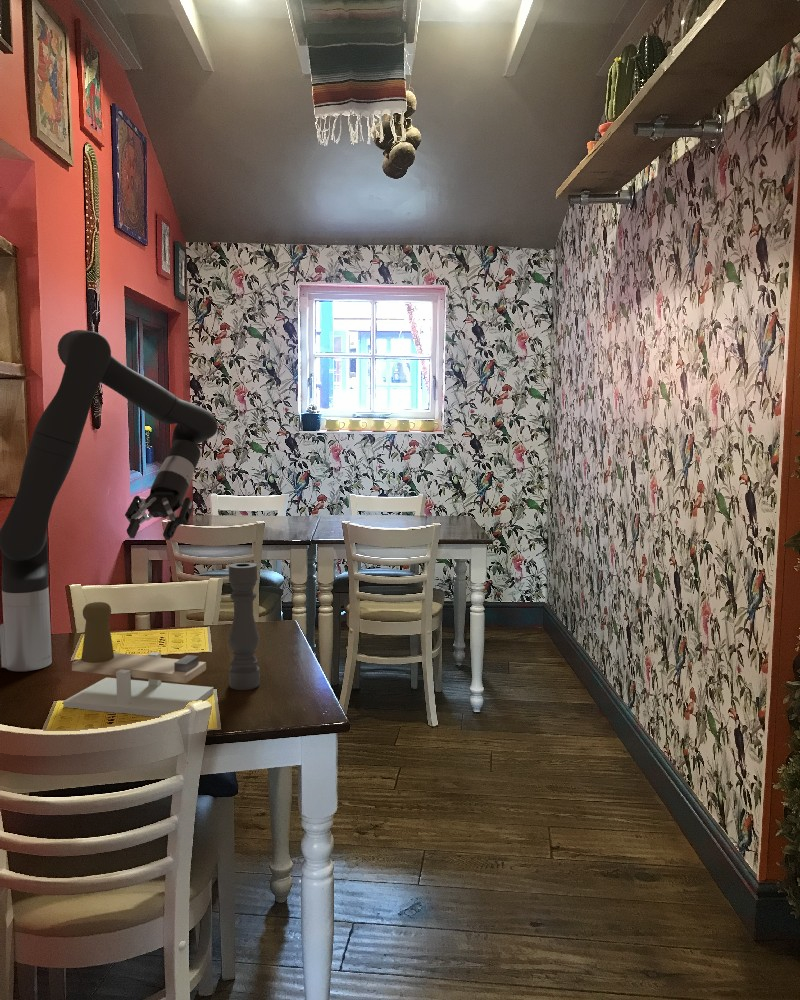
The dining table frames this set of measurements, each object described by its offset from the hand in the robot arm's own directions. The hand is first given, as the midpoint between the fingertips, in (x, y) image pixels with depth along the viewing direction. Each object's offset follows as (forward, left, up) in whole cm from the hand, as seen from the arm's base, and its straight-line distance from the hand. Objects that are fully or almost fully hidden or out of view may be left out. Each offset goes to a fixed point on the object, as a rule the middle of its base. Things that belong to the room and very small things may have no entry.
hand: (148, 537), depth 173 cm
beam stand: (+9, -20, -29) cm, 36 cm away
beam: (+9, -20, -23) cm, 31 cm away
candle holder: (+25, -7, -29) cm, 39 cm away
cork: (0, -20, -21) cm, 29 cm away
